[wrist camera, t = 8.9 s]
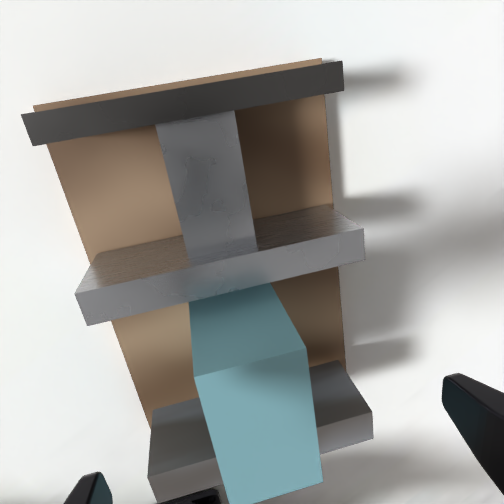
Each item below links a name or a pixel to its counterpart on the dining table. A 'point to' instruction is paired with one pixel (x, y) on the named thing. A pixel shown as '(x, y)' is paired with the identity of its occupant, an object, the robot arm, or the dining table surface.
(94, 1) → the dining table surface
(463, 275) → the dining table surface
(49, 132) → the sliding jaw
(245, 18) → the dining table surface
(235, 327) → the workpiece block
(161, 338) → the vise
